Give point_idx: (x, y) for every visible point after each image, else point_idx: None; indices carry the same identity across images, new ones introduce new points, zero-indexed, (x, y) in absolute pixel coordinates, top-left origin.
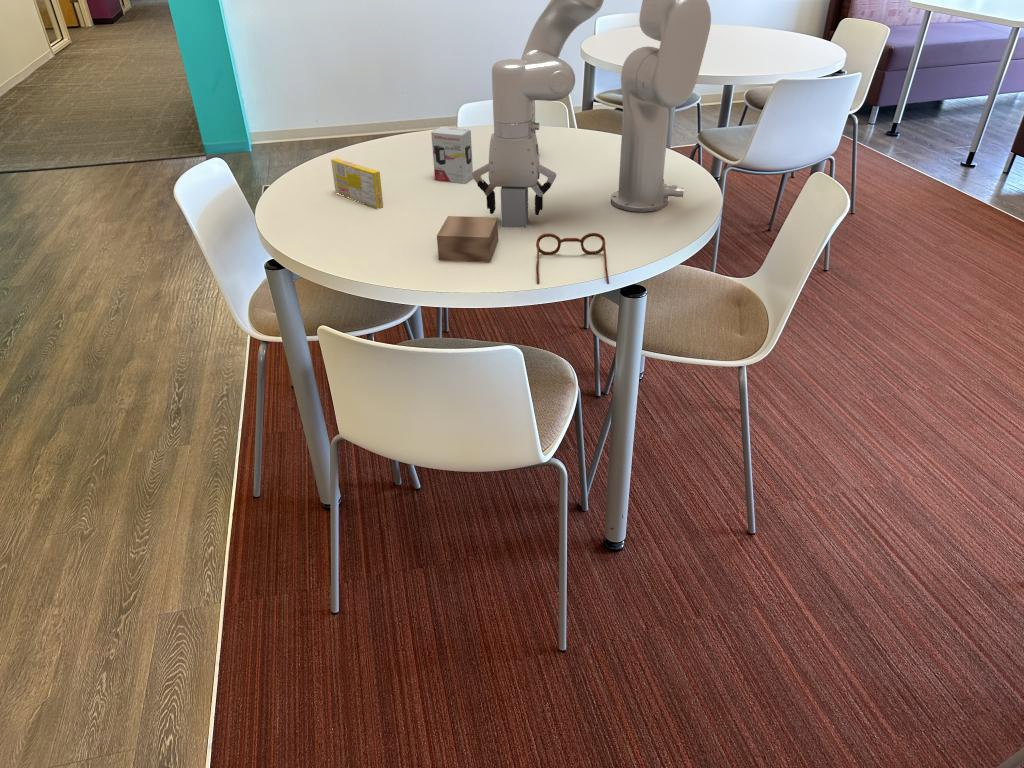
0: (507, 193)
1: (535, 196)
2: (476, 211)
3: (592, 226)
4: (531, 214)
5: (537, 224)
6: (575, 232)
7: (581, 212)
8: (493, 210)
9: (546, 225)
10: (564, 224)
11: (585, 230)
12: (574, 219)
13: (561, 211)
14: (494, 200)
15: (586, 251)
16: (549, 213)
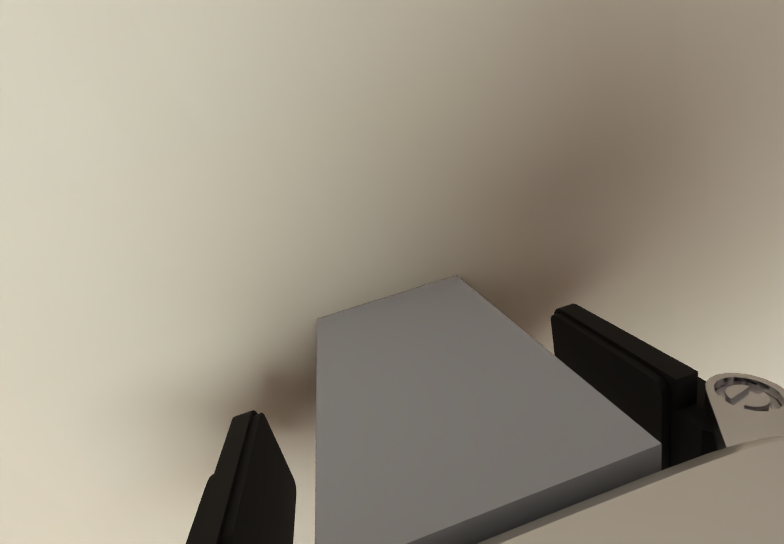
0: None
1: (663, 464)
2: (38, 287)
3: (778, 248)
4: (452, 200)
5: (526, 328)
6: (706, 343)
7: (735, 58)
8: (290, 492)
9: None
10: (655, 275)
11: (747, 305)
12: (699, 189)
13: (621, 79)
14: (260, 498)
15: None
16: (555, 142)
